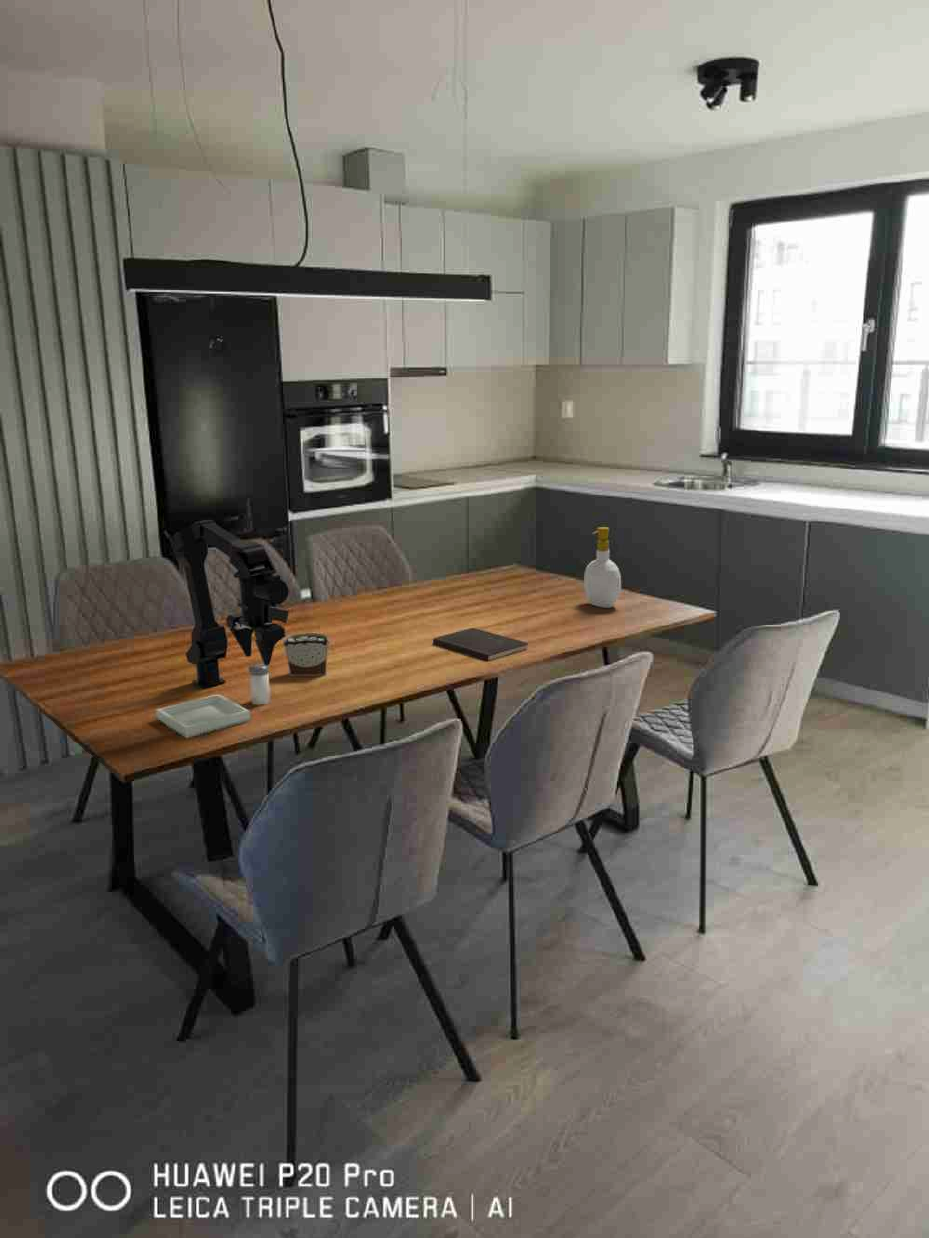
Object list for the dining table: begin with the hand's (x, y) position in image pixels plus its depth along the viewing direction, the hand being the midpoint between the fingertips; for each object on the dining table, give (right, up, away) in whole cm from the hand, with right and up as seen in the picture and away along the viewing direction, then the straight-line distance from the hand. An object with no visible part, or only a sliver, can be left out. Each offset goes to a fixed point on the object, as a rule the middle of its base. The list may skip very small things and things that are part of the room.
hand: (257, 660), depth 232 cm
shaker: (0, -10, +3) cm, 11 cm away
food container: (+9, -4, +25) cm, 26 cm away
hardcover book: (+54, +1, +44) cm, 70 cm away
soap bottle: (+95, +14, +86) cm, 129 cm away
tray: (-11, -13, -9) cm, 19 cm away
